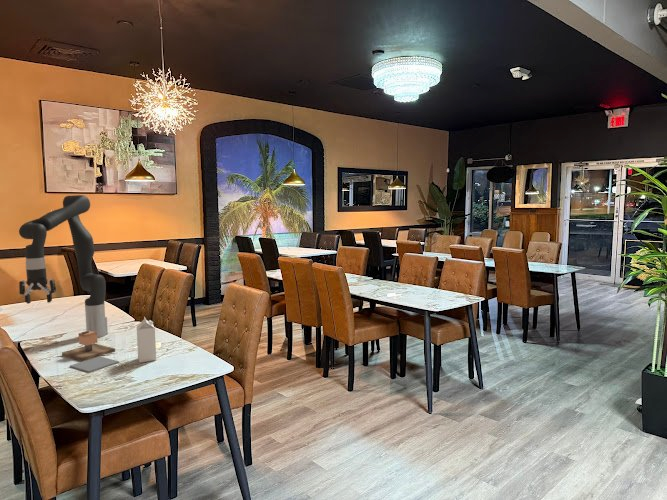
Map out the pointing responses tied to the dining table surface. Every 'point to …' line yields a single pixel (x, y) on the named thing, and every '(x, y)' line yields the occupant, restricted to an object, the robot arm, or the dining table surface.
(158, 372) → the dining table surface
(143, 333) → the milk carton
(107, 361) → the mat
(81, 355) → the brown board
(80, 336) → the tan cube with tab
